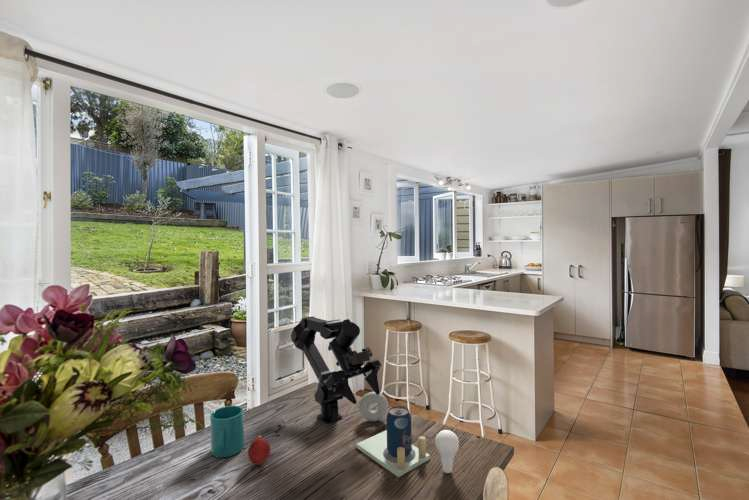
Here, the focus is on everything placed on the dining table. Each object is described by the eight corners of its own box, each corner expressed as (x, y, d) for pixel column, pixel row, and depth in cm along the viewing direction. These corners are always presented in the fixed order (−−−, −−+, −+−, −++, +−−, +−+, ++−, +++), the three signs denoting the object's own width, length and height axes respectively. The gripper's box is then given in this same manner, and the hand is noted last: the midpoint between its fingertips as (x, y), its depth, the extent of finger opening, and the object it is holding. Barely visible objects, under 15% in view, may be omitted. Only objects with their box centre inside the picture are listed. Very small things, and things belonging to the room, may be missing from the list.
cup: (203, 466, 102) (202, 426, 101) (216, 442, 113) (215, 406, 113) (238, 463, 103) (236, 423, 102) (247, 440, 115) (246, 404, 114)
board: (356, 447, 109) (356, 427, 109) (387, 433, 117) (386, 414, 117) (398, 477, 96) (397, 453, 95) (429, 459, 103) (429, 437, 103)
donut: (359, 424, 123) (358, 394, 123) (359, 419, 127) (358, 390, 126) (389, 423, 124) (388, 393, 124) (388, 418, 127) (387, 389, 127)
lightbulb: (454, 483, 93) (454, 439, 93) (431, 475, 96) (431, 433, 96) (462, 470, 98) (462, 429, 98) (440, 462, 101) (440, 423, 101)
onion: (250, 473, 98) (249, 443, 98) (247, 462, 103) (246, 433, 103) (272, 467, 101) (271, 438, 101) (268, 456, 106) (267, 428, 106)
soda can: (410, 461, 100) (409, 417, 100) (384, 458, 102) (384, 415, 101) (413, 447, 107) (412, 406, 106) (389, 444, 108) (388, 404, 108)
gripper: (330, 346, 108) (355, 395, 101) (377, 334, 121) (402, 376, 113) (316, 366, 114) (338, 413, 107) (362, 353, 127) (384, 394, 119)
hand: (367, 398), depth 111 cm, fingers open, 9 cm apart
